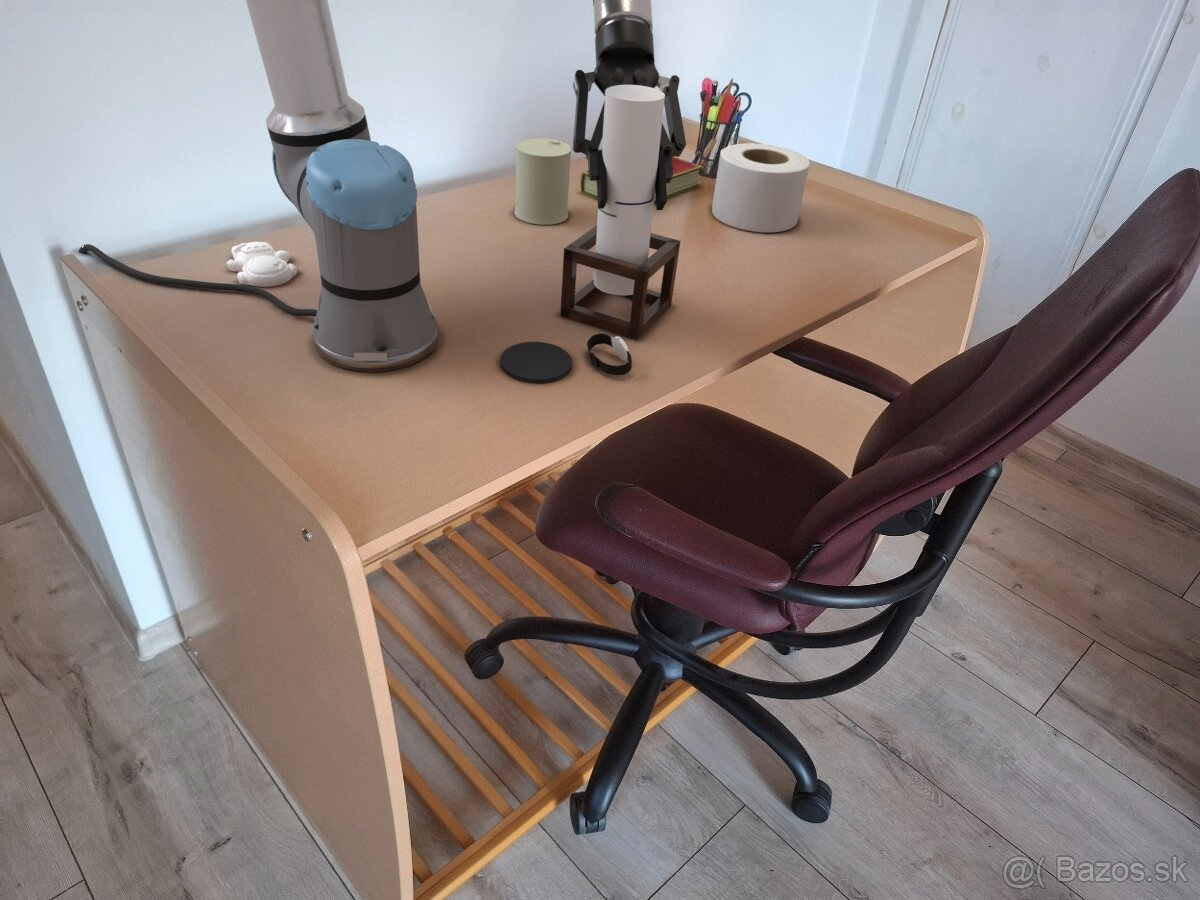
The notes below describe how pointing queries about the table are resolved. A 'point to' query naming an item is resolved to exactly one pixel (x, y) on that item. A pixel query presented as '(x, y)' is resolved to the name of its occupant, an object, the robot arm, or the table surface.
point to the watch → (619, 348)
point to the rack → (639, 273)
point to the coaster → (536, 362)
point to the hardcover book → (680, 183)
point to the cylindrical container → (628, 179)
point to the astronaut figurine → (261, 264)
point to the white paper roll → (759, 187)
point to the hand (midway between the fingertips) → (632, 204)
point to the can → (542, 181)
